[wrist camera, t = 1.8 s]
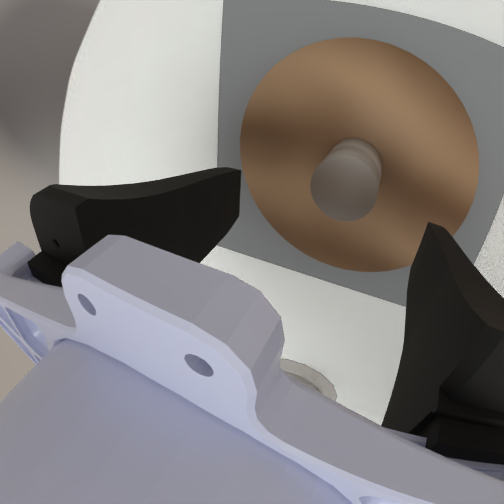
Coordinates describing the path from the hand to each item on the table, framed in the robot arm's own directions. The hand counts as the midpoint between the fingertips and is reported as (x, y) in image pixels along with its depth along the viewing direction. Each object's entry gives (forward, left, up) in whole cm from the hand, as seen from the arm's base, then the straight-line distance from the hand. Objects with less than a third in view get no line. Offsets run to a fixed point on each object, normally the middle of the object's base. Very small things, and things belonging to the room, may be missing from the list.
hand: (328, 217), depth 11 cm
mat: (0, 0, -8) cm, 8 cm away
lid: (0, 0, -8) cm, 8 cm away
